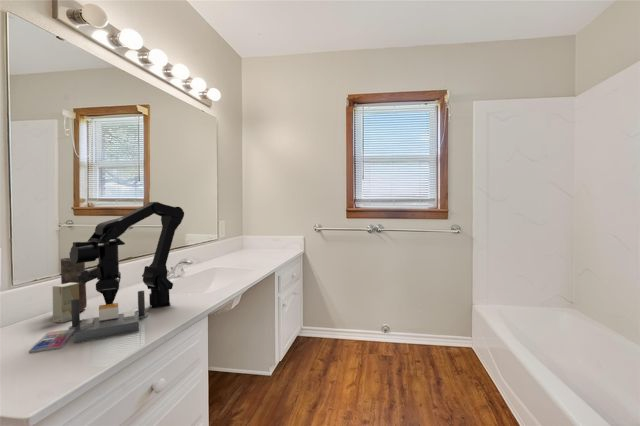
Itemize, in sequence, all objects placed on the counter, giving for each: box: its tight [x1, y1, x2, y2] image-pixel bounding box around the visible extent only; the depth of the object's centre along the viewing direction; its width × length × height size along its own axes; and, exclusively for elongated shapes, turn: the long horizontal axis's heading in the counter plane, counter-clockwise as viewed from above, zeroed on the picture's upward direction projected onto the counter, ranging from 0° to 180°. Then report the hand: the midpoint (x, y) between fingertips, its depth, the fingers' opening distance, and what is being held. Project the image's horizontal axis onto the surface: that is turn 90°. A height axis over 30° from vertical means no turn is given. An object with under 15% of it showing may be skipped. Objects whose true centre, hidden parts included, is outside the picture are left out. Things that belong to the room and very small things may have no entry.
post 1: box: [68, 299, 81, 330], centre depth 102 cm, size 4×4×9 cm
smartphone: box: [28, 328, 75, 354], centre depth 93 cm, size 7×1×15 cm
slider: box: [98, 302, 119, 321], centre depth 102 cm, size 5×3×4 cm, turn 121°
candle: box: [60, 257, 88, 312], centre depth 120 cm, size 8×7×20 cm
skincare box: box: [52, 283, 79, 324], centre depth 110 cm, size 6×4×12 cm
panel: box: [73, 310, 140, 344], centre depth 100 cm, size 16×12×4 cm
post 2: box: [137, 290, 149, 320], centre depth 112 cm, size 4×4×9 cm
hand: (109, 304), depth 110 cm, fingers open, 9 cm apart
